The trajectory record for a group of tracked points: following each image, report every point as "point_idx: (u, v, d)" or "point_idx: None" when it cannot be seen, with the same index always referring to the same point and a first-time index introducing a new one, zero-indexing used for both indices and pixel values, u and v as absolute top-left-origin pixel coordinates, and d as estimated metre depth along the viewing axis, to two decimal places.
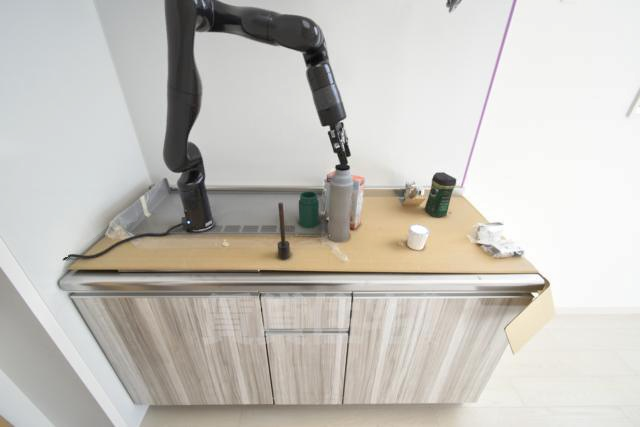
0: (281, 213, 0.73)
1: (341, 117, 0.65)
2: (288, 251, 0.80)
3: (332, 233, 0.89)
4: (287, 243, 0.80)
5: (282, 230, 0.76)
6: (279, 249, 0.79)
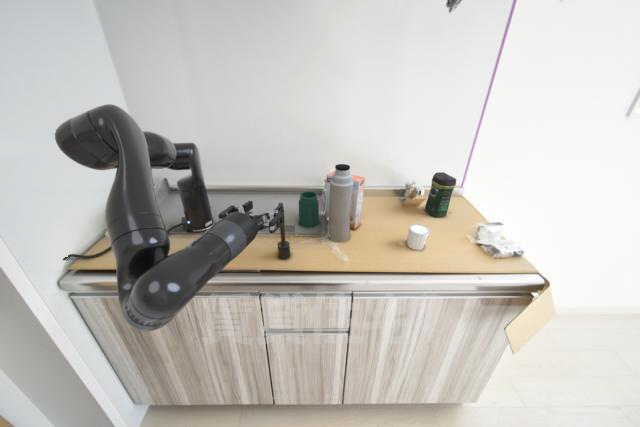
0: None
1: None
2: (288, 251, 0.80)
3: (332, 233, 0.89)
4: (287, 243, 0.80)
5: (282, 230, 0.76)
6: (279, 249, 0.79)
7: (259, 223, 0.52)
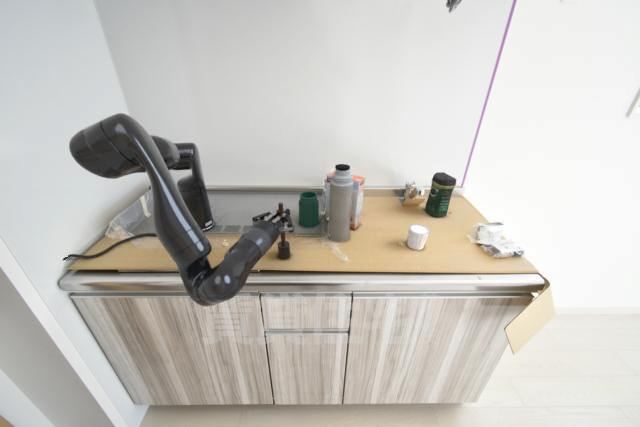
0: (281, 213, 0.73)
1: None
2: (288, 251, 0.80)
3: (332, 233, 0.89)
4: (287, 243, 0.80)
5: None
6: (279, 249, 0.79)
7: (280, 228, 0.66)
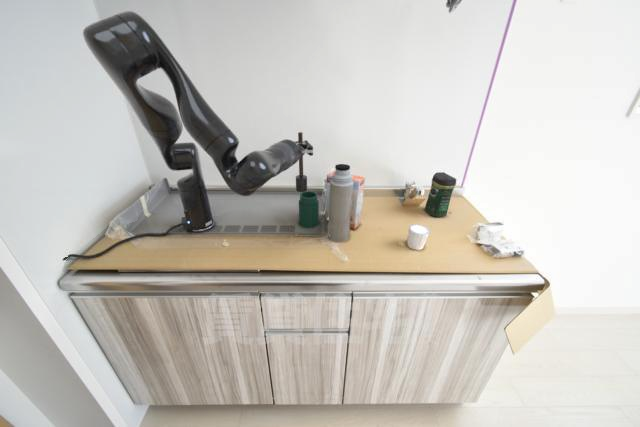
0: None
1: None
2: (305, 184, 0.85)
3: (332, 233, 0.89)
4: (305, 176, 0.84)
5: (301, 161, 0.81)
6: (297, 181, 0.84)
7: (301, 149, 0.71)
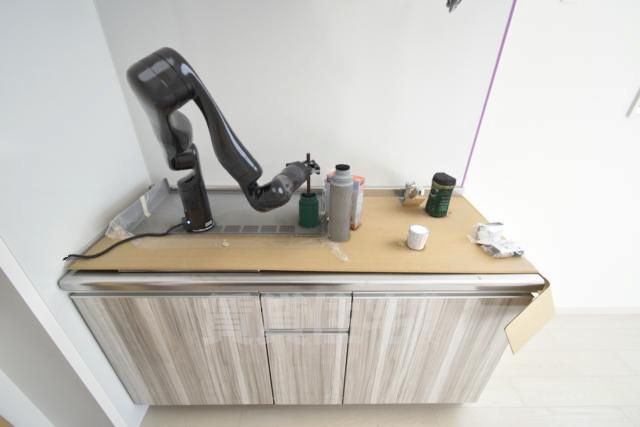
0: (308, 162, 0.88)
1: None
2: None
3: (332, 233, 0.89)
4: (312, 191, 0.94)
5: (308, 178, 0.91)
6: (305, 195, 0.93)
7: (310, 169, 0.80)
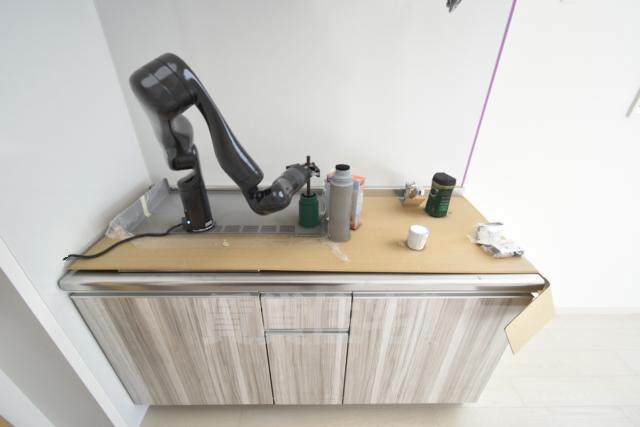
0: (308, 164, 0.89)
1: None
2: None
3: (332, 233, 0.89)
4: (311, 193, 0.95)
5: (308, 180, 0.92)
6: (305, 197, 0.94)
7: (310, 172, 0.81)
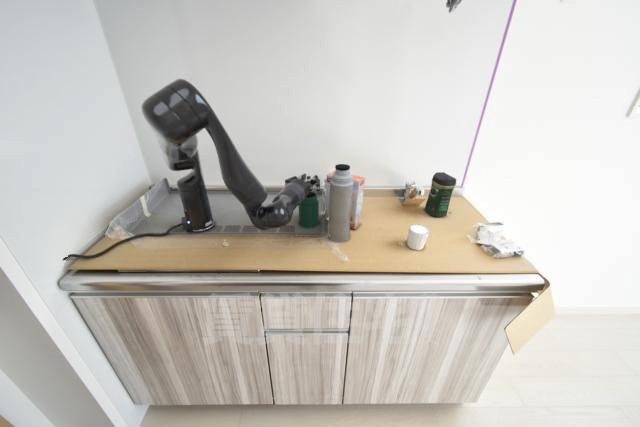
0: None
1: None
2: None
3: (332, 233, 0.89)
4: None
5: None
6: None
7: (310, 186, 0.83)
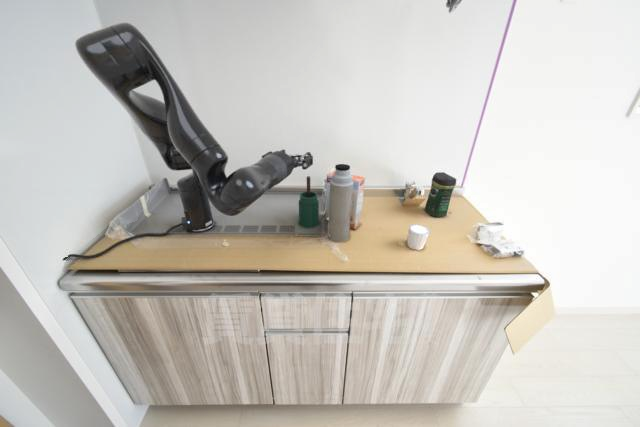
0: (308, 185, 0.92)
1: None
2: None
3: (332, 233, 0.89)
4: None
5: None
6: None
7: (294, 161, 0.66)
